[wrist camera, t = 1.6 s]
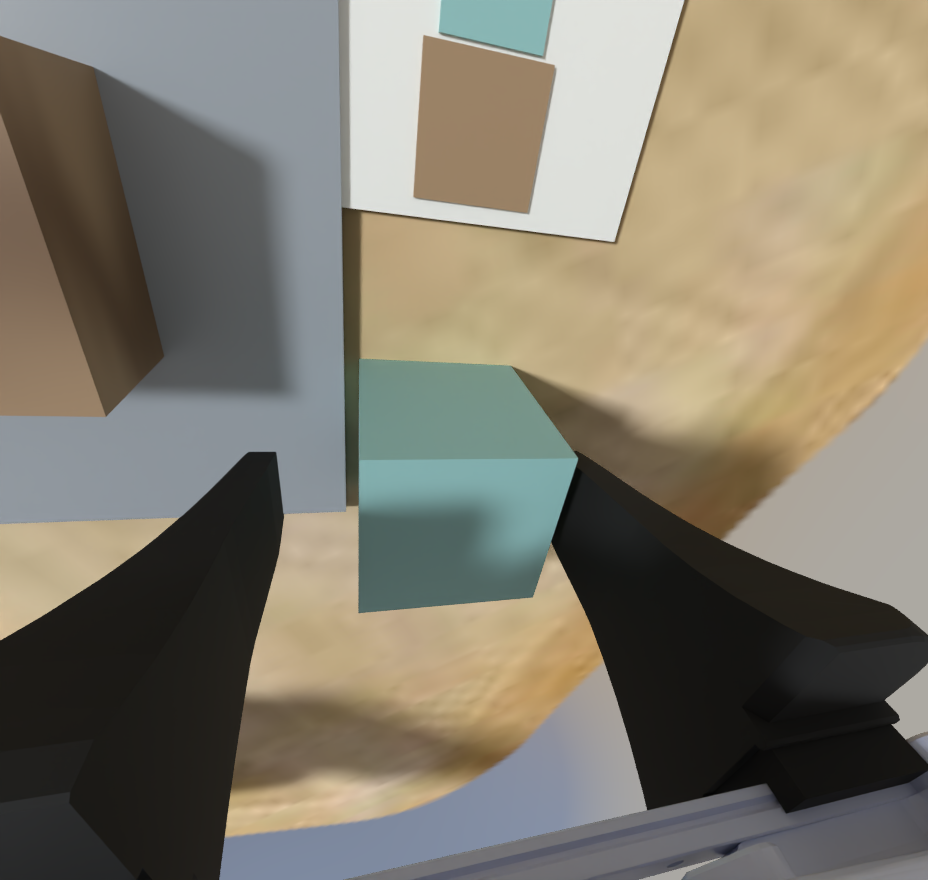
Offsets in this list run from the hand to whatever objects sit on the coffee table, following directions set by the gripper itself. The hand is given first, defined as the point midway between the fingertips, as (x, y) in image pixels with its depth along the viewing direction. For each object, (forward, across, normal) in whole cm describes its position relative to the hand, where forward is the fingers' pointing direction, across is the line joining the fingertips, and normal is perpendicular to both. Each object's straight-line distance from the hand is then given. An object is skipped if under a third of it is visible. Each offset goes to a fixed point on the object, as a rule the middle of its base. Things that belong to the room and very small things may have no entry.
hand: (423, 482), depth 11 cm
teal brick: (+3, -1, 0) cm, 3 cm away
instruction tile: (+3, -1, -9) cm, 9 cm away
